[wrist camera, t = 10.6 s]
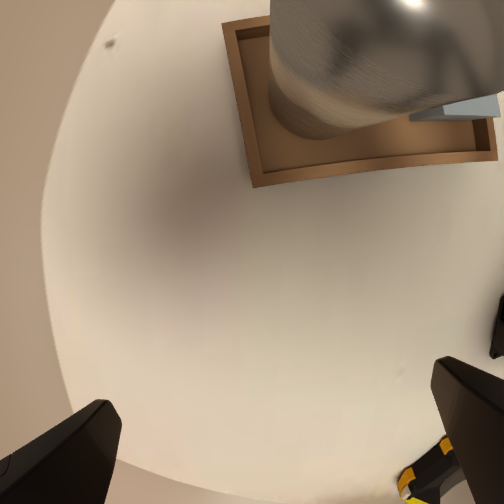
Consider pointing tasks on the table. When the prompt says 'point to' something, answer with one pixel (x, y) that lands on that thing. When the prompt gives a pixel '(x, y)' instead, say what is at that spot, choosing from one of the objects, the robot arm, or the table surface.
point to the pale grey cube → (461, 110)
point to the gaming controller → (428, 475)
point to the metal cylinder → (379, 60)
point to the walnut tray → (340, 147)
